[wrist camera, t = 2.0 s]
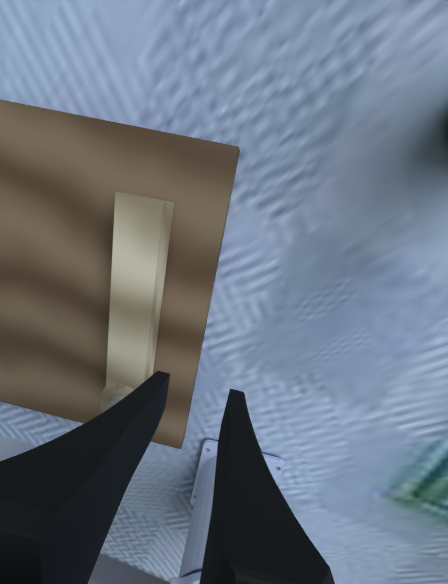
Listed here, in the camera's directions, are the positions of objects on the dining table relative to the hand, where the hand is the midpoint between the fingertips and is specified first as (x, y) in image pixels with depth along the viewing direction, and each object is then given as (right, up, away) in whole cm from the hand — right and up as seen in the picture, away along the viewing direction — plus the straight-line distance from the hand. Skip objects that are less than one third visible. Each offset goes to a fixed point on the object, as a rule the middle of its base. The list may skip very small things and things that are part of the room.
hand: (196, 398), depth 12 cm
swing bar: (-5, +3, +8) cm, 10 cm away
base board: (-13, +5, +10) cm, 17 cm away
